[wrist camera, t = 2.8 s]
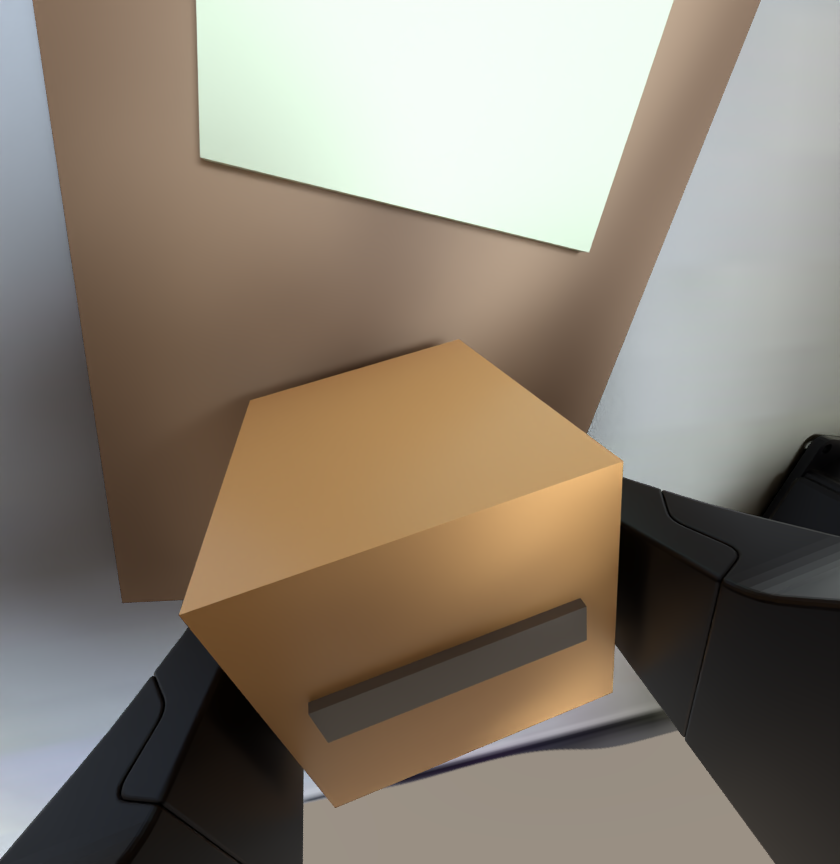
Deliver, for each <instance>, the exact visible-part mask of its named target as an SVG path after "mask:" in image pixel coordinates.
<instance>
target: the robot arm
mask: <svg viewBox="0 0 840 864" xmlns="http://www.w3.org/2000/svg"><path fill="white" fill-rule="evenodd" d="M615 645H616V646H617V648H618V649H619V650H620V652H621V653H622V654H623V656H624V657H625V658H626V660H627V661H628V663H629V664H630V665H631V667H632V668H633V669H634V671H635V672H636V674H637V675H638V676H639V678H640V679H641V680H642V682H643V683H644V684H645V686H646V687H647V689H648V690H649V691H650V693H651V694H652V695H653V697H654V698H655V700H656V701H657V702H658V704H659V705H660V706H661V708H662V709H663V710H664V712H665V713H666V715H667V716H668V717H669V719H670V720H671V721H672V723H673V724H674V726H675V727H676V728H677V730H678V731H679V732H680V734H681V735H682V736H683V737H685V741H686V742H687V744H688V745H689V746H690V748H691V749H692V750H693V752H694V753H695V755H696V756H697V757H698V759H699V760H700V761H701V763H702V764H703V765H704V767H705V768H706V770H707V771H708V772H709V774H710V775H711V776H712V778H713V779H714V780H715V782H716V783H717V784H718V786H719V787H720V789H721V790H722V792H723V793H724V794H725V796H726V797H727V798H728V800H729V801H730V803H731V804H732V805H733V807H734V808H735V809H736V811H737V812H738V814H739V815H740V816H741V818H742V819H743V820H744V822H745V823H746V824H747V826H748V827H749V829H750V830H751V831H752V832H753V834H754V835H755V837H756V838H757V839H758V841H759V842H760V844H761V845H762V846H763V848H764V849H765V850H766V852H767V853H768V855H769V856H770V857H771V859H772V860H773V861H774V863H775V864H840V437H836V436H826V435H822V436H819V437H817V438H816V439H814V440H813V441H812V442H811V444H810V445H809V446H808V448H807V449H806V451H805V452H804V454H803V455H802V457H801V458H800V460H799V462H798V463H797V465H796V466H795V468H794V469H793V471H792V472H791V474H790V475H789V477H788V478H787V480H786V481H785V483H784V484H783V486H782V487H781V489H780V490H779V492H778V493H777V495H776V496H775V498H774V499H773V501H772V502H771V504H770V505H769V507H768V508H767V510H766V512H765V513H764V515H763V516H762V517H758V516H754V515H750V514H746V513H742V512H738V511H734V510H731V509H727V508H723V507H719V506H715V505H712V504H708V503H705V502H701V501H698V500H695V499H691V498H688V497H684V496H681V495H678V494H675V493H672V492H669V491H665V490H663V491H662V492H661V489H659V488H655V487H652V486H649V485H646V484H643V483H640V482H636V481H633V480H630V479H627V478H624V477H622V498H621V520H620V542H619V563H618V585H617V606H616V628H615ZM303 779H304V769H303V768H302V766H301V765H300V764H299V763H298V762H297V760H296V759H295V758H294V757H293V755H292V754H291V753H290V752H289V750H288V749H287V748H286V747H285V746H284V744H283V743H282V742H281V741H280V739H279V738H278V737H277V736H276V734H275V733H274V732H273V731H272V729H271V728H270V727H269V726H268V725H267V723H266V722H265V721H264V720H263V718H262V717H261V716H260V715H259V713H258V712H257V711H256V710H255V709H254V707H253V706H252V705H251V704H250V702H249V701H248V700H247V699H246V697H245V696H244V695H243V694H242V693H241V691H240V690H239V689H238V688H237V686H236V685H235V684H234V683H233V681H232V680H231V679H230V678H229V677H228V675H227V674H226V673H225V672H224V670H223V669H222V668H221V667H220V665H219V664H218V663H217V662H216V660H215V659H214V658H213V657H212V656H211V654H210V653H209V652H208V651H207V649H206V648H205V647H204V646H203V644H202V643H201V642H200V641H199V640H198V638H197V637H196V636H195V635H194V633H193V632H192V631H191V630H190V628H189V627H188V628H187V630H186V631H185V632H184V634H183V635H182V636H181V638H180V639H179V640H178V642H177V643H176V644H175V646H174V647H173V648H172V650H171V651H170V652H169V654H168V655H167V656H166V657H165V659H164V660H163V661H162V663H161V664H160V665H159V667H158V668H157V669H156V671H155V672H154V676H152V677H150V678H149V680H148V681H147V682H146V684H145V685H144V686H143V688H142V689H141V690H140V692H139V693H138V694H137V696H136V697H135V698H134V699H133V701H132V702H131V703H130V705H129V706H128V707H127V708H126V710H125V711H124V712H123V713H122V715H121V716H120V717H119V719H118V720H117V721H116V722H115V724H114V725H113V726H112V728H111V729H110V730H109V731H108V733H107V734H106V735H105V736H104V737H103V739H102V740H101V741H100V742H99V743H98V745H97V746H96V747H95V748H94V749H93V751H92V752H91V753H90V754H89V755H88V757H87V758H86V759H85V760H84V761H83V763H82V764H81V765H80V766H79V767H78V769H77V770H76V771H75V772H74V773H73V774H72V776H71V777H70V778H69V779H68V780H67V782H66V783H65V784H64V785H63V786H62V787H61V789H60V790H59V791H58V792H57V793H56V794H55V796H54V797H53V798H52V799H51V800H50V801H49V803H48V804H47V805H46V806H45V807H44V809H43V810H42V811H41V812H40V813H39V814H38V816H37V817H36V818H35V819H34V820H33V821H32V823H31V824H30V825H29V826H28V827H27V828H26V830H25V831H24V832H23V833H22V834H21V835H20V837H19V838H18V839H17V840H16V841H15V843H14V844H13V845H12V846H11V847H10V848H9V850H8V851H7V852H6V853H5V854H4V855H3V857H2V858H1V859H0V864H303Z"/></svg>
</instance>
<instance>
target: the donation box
mask: <svg viewBox="0 0 840 864" xmlns="http://www.w3.org/2000/svg"><path fill="white" fill-rule="evenodd" d="M622 477H623V461H622V460H621V459H620V458H618V457H617V456H616V455H614V454H613V453H611V452H610V451H609V450H607V449H606V448H605V447H603V446H602V445H601V444H599V443H598V442H597V441H595V440H594V439H593V438H591V437H590V436H589V435H587V434H586V433H585V432H583V431H582V430H581V429H579V428H578V427H576V426H575V425H574V424H572V423H571V422H570V421H568V420H567V419H566V418H564V417H563V416H562V415H560V414H559V413H558V412H556V411H555V410H554V409H552V408H551V407H550V406H548V405H547V404H546V403H544V402H543V401H541V400H540V399H539V398H537V397H536V396H535V395H533V394H532V393H531V392H529V391H528V390H527V389H525V388H524V387H523V386H521V385H520V384H519V383H517V382H516V381H515V380H513V379H512V378H511V377H509V376H508V375H506V374H505V373H504V372H502V371H501V370H500V369H498V368H497V367H496V366H494V365H493V364H492V363H490V362H489V361H488V360H486V359H485V358H484V357H482V356H481V355H480V354H478V353H477V352H475V351H474V350H473V349H471V348H470V347H469V346H467V345H466V344H465V343H463V342H462V341H461V340H459V339H457V340H454V341H451V342H447V343H444V344H440V345H437V346H434V347H430V348H427V349H423V350H420V351H417V352H413V353H410V354H406V355H403V356H399V357H396V358H393V359H389V360H386V361H382V362H379V363H376V364H372V365H369V366H365V367H362V368H359V369H355V370H352V371H348V372H345V373H342V374H338V375H335V376H331V377H328V378H324V379H321V380H318V381H314V382H311V383H307V384H304V385H301V386H297V387H294V388H290V389H287V390H284V391H280V392H277V393H273V394H270V395H267V396H263V397H260V398H256V399H253V400H250V402H249V405H248V408H247V411H246V414H245V417H244V420H243V423H242V426H241V429H240V432H239V435H238V438H237V441H236V444H235V447H234V450H233V453H232V456H231V459H230V462H229V465H228V468H227V471H226V474H225V477H224V480H223V483H222V486H221V489H220V492H219V495H218V498H217V501H216V504H215V507H214V510H213V513H212V516H211V519H210V522H209V525H208V528H207V531H206V534H205V537H204V540H203V544H202V547H201V550H200V553H199V556H198V559H197V562H196V565H195V568H194V571H193V574H192V577H191V580H190V583H189V586H188V589H187V592H186V595H185V598H184V601H183V604H182V607H181V610H180V613H179V616H180V617H181V619H182V620H183V621H184V622H185V624H186V625H187V626H188V627H189V628H190V630H191V631H192V632H193V633H194V635H195V636H196V637H197V638H198V640H199V641H200V642H201V643H202V644H203V646H204V647H205V648H206V649H207V651H208V652H209V653H210V654H211V656H212V657H213V658H214V659H215V660H216V662H217V663H218V664H219V665H220V667H221V668H222V669H223V670H224V672H225V673H226V674H227V675H228V677H229V678H230V679H231V680H232V681H233V683H234V684H235V685H236V686H237V688H238V689H239V690H240V691H241V693H242V694H243V695H244V696H245V697H246V699H247V700H248V701H249V702H250V704H251V705H252V706H253V707H254V709H255V710H256V711H257V712H258V713H259V715H260V716H261V717H262V718H263V720H264V721H265V722H266V723H267V725H268V726H269V727H270V728H271V729H272V731H273V732H274V733H275V734H276V736H277V737H278V738H279V739H280V741H281V742H282V743H283V744H284V746H285V747H286V748H287V749H288V750H289V752H290V753H291V754H292V755H293V757H294V758H295V759H296V760H297V762H298V763H299V764H300V765H301V766H302V768H303V769H304V770H305V771H306V773H307V774H308V775H309V776H310V778H311V779H312V780H313V781H314V782H315V784H316V785H317V786H318V787H319V789H320V790H321V791H322V792H323V794H324V795H325V796H326V797H327V798H328V800H329V801H330V802H331V803H332V805H333V806H334V807H335V808H336V807H339V806H341V805H344V804H346V803H349V802H351V801H353V800H356V799H358V798H361V797H363V796H365V795H368V794H370V793H373V792H375V791H378V790H380V789H382V788H385V787H387V786H389V785H392V784H394V783H397V782H399V781H401V780H404V779H406V778H409V777H411V776H413V775H416V774H418V773H421V772H423V771H425V770H428V769H430V768H433V767H435V766H437V765H440V764H442V763H445V762H447V761H449V760H452V759H454V758H457V757H459V756H461V755H464V754H466V753H469V752H471V751H473V750H476V749H478V748H481V747H483V746H485V745H488V744H490V743H493V742H495V741H497V740H500V739H502V738H505V737H507V736H509V735H512V734H514V733H517V732H519V731H521V730H524V729H526V728H529V727H531V726H533V725H536V724H538V723H541V722H543V721H545V720H548V719H550V718H553V717H555V716H557V715H560V714H562V713H565V712H567V711H569V710H572V709H574V708H577V707H579V706H581V705H584V704H586V703H589V702H591V701H593V700H596V699H598V698H601V697H603V696H605V695H608V694H610V693H613V671H614V649H615V628H616V606H617V585H618V563H619V542H620V520H621V498H622Z"/></svg>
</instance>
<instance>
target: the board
mask: <svg viewBox="0 0 840 864" xmlns="http://www.w3.org/2000/svg"><path fill="white" fill-rule="evenodd" d="M760 1H761V0H674V1H673V4H672V7H671V10H670V13H669V16H668V19H667V22H666V25H665V28H664V31H663V34H662V37H661V40H660V43H659V46H658V48H657V51H656V54H655V57H654V60H653V63H652V66H651V69H650V72H649V75H648V78H647V81H646V84H645V87H644V90H643V93H642V96H641V99H640V102H639V105H638V108H637V111H636V114H635V117H634V120H633V123H632V126H631V129H630V132H629V135H628V138H627V141H626V144H625V147H624V150H623V153H622V156H621V159H620V162H619V165H618V168H617V171H616V174H615V177H614V180H613V183H612V186H611V188H610V191H609V194H608V197H607V200H606V203H605V206H604V209H603V212H602V215H601V218H600V221H599V224H598V227H597V230H596V233H595V236H594V239H593V242H592V245H591V248H590V251H589V252H579V251H575V250H571V249H567V248H563V247H559V246H555V245H551V244H546V243H542V242H538V241H534V240H530V239H526V238H522V237H518V236H514V235H510V234H505V233H501V232H497V231H493V230H489V229H485V228H481V227H477V226H473V225H468V224H464V223H460V222H456V221H452V220H448V219H444V218H440V217H436V216H432V215H427V214H423V213H419V212H415V211H411V210H407V209H403V208H399V207H395V206H390V205H386V204H382V203H378V202H374V201H370V200H366V199H362V198H358V197H354V196H349V195H345V194H341V193H337V192H333V191H329V190H325V189H321V188H317V187H312V186H308V185H304V184H300V183H296V182H292V181H288V180H284V179H280V178H276V177H271V176H267V175H263V174H259V173H255V172H251V171H247V170H243V169H239V168H234V167H230V166H226V165H222V164H218V163H214V162H210V161H206V160H204V159H202V158H200V134H199V95H198V55H197V16H196V0H33V7H34V13H35V20H36V27H37V34H38V40H39V47H40V54H41V60H42V67H43V74H44V81H45V87H46V94H47V101H48V107H49V114H50V121H51V128H52V134H53V141H54V148H55V154H56V161H57V168H58V175H59V181H60V188H61V195H62V201H63V208H64V215H65V222H66V228H67V235H68V242H69V248H70V255H71V262H72V269H73V275H74V282H75V289H76V295H77V302H78V309H79V316H80V322H81V329H82V336H83V342H84V349H85V356H86V363H87V369H88V376H89V383H90V389H91V396H92V403H93V410H94V416H95V423H96V430H97V436H98V443H99V450H100V457H101V463H102V470H103V477H104V483H105V490H106V497H107V504H108V510H109V517H110V524H111V530H112V537H113V544H114V551H115V557H116V564H117V571H118V577H119V584H120V591H121V598H122V603H132V602H151V601H170V600H184V598H185V595H186V592H187V589H188V586H189V583H190V580H191V577H192V574H193V571H194V568H195V565H196V562H197V559H198V556H199V553H200V550H201V547H202V544H203V540H204V537H205V534H206V531H207V528H208V525H209V522H210V519H211V516H212V513H213V510H214V507H215V504H216V501H217V498H218V495H219V492H220V489H221V486H222V483H223V480H224V477H225V474H226V471H227V468H228V465H229V462H230V459H231V456H232V453H233V450H234V447H235V444H236V441H237V438H238V435H239V432H240V429H241V426H242V423H243V420H244V417H245V414H246V411H247V408H248V405H249V402H250V400H253V399H256V398H260V397H263V396H267V395H270V394H273V393H277V392H280V391H284V390H287V389H290V388H294V387H297V386H301V385H304V384H307V383H311V382H314V381H318V380H321V379H324V378H328V377H331V376H335V375H338V374H342V373H345V372H348V371H352V370H355V369H359V368H362V367H365V366H369V365H372V364H376V363H379V362H382V361H386V360H389V359H393V358H396V357H399V356H403V355H406V354H410V353H413V352H417V351H420V350H423V349H427V348H430V347H434V346H437V345H440V344H444V343H447V342H451V341H454V340H457V339H459V340H461V341H462V342H463V343H465V344H466V345H467V346H469V347H470V348H471V349H473V350H474V351H475V352H477V353H478V354H480V355H481V356H482V357H484V358H485V359H486V360H488V361H489V362H490V363H492V364H493V365H494V366H496V367H497V368H498V369H500V370H501V371H502V372H504V373H505V374H506V375H508V376H509V377H511V378H512V379H513V380H515V381H516V382H517V383H519V384H520V385H521V386H523V387H524V388H525V389H527V390H528V391H529V392H531V393H532V394H533V395H535V396H536V397H537V398H539V399H540V400H541V401H543V402H544V403H546V404H547V405H548V406H550V407H551V408H552V409H554V410H555V411H556V412H558V413H559V414H560V415H562V416H563V417H564V418H566V419H567V420H568V421H570V422H571V423H572V424H574V425H575V426H576V427H578V428H579V429H581V430H582V431H583V432H585V433H586V434H587V432H588V429H589V427H590V424H591V422H592V419H593V417H594V414H595V412H596V409H597V407H598V404H599V402H600V399H601V397H602V395H603V392H604V390H605V387H606V385H607V382H608V380H609V377H610V375H611V372H612V370H613V367H614V365H615V362H616V360H617V357H618V355H619V352H620V350H621V347H622V345H623V342H624V340H625V337H626V335H627V332H628V330H629V327H630V325H631V322H632V320H633V317H634V315H635V312H636V310H637V307H638V305H639V302H640V300H641V297H642V295H643V292H644V290H645V287H646V285H647V282H648V280H649V277H650V275H651V272H652V270H653V267H654V265H655V263H656V260H657V258H658V255H659V253H660V250H661V248H662V245H663V243H664V240H665V238H666V235H667V233H668V230H669V228H670V225H671V223H672V220H673V218H674V215H675V213H676V210H677V208H678V205H679V203H680V200H681V198H682V195H683V193H684V190H685V188H686V185H687V183H688V180H689V178H690V175H691V173H692V170H693V168H694V165H695V163H696V160H697V158H698V155H699V153H700V150H701V148H702V145H703V143H704V140H705V138H706V135H707V133H708V131H709V128H710V126H711V123H712V121H713V118H714V116H715V113H716V111H717V108H718V106H719V103H720V101H721V98H722V96H723V93H724V91H725V88H726V86H727V83H728V81H729V78H730V76H731V73H732V71H733V68H734V66H735V63H736V61H737V58H738V56H739V53H740V51H741V48H742V46H743V43H744V41H745V38H746V36H747V33H748V31H749V28H750V26H751V23H752V21H753V18H754V16H755V13H756V11H757V8H758V6H759V3H760Z"/></svg>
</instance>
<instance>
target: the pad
mask: <svg viewBox="0 0 840 864" xmlns="http://www.w3.org/2000/svg"><path fill="white" fill-rule="evenodd" d="M673 1H674V0H196V16H197V55H198V95H199V134H200V158H202V159H204V160H206V161H210V162H214V163H218V164H222V165H226V166H230V167H234V168H239V169H243V170H247V171H251V172H255V173H259V174H263V175H267V176H271V177H276V178H280V179H284V180H288V181H292V182H296V183H300V184H304V185H308V186H312V187H317V188H321V189H325V190H329V191H333V192H337V193H341V194H345V195H349V196H354V197H358V198H362V199H366V200H370V201H374V202H378V203H382V204H386V205H390V206H395V207H399V208H403V209H407V210H411V211H415V212H419V213H423V214H427V215H432V216H436V217H440V218H444V219H448V220H452V221H456V222H460V223H464V224H468V225H473V226H477V227H481V228H485V229H489V230H493V231H497V232H501V233H505V234H510V235H514V236H518V237H522V238H526V239H530V240H534V241H538V242H542V243H546V244H551V245H555V246H559V247H563V248H567V249H571V250H575V251H579V252H589V251H590V248H591V245H592V242H593V239H594V236H595V233H596V230H597V227H598V224H599V221H600V218H601V215H602V212H603V209H604V206H605V203H606V200H607V197H608V194H609V191H610V188H611V186H612V183H613V180H614V177H615V174H616V171H617V168H618V165H619V162H620V159H621V156H622V153H623V150H624V147H625V144H626V141H627V138H628V135H629V132H630V129H631V126H632V123H633V120H634V117H635V114H636V111H637V108H638V105H639V102H640V99H641V96H642V93H643V90H644V87H645V84H646V81H647V78H648V75H649V72H650V69H651V66H652V63H653V60H654V57H655V54H656V51H657V48H658V46H659V43H660V40H661V37H662V34H663V31H664V28H665V25H666V22H667V19H668V16H669V13H670V10H671V7H672V4H673Z"/></svg>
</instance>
